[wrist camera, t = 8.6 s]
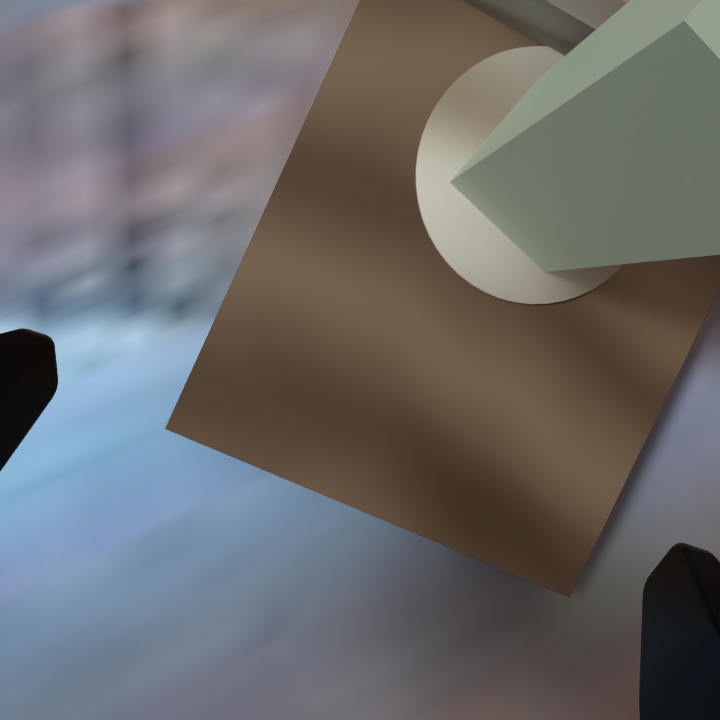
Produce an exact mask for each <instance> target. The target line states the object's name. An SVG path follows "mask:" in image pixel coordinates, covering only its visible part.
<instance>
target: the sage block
mask: <svg viewBox="0 0 720 720" xmlns="http://www.w3.org/2000/svg"><path fill="white" fill-rule="evenodd" d="M450 183H451V184H452V185H453V186H454V187H455V188H456V189H457V190H458V191H459V192H460V193H461V194H462V195H463V196H464V197H466V198H467V199H468V200H469V201H470V202H471V203H472V204H473V205H474V206H475V207H476V208H477V209H478V210H479V211H480V212H481V213H482V214H484V215H485V216H486V217H487V218H488V219H489V220H490V221H491V222H492V223H493V224H494V225H495V226H496V227H497V228H498V229H499V230H500V231H502V232H503V233H504V234H505V235H506V236H507V237H508V238H509V239H510V240H511V241H512V242H513V243H514V244H515V245H516V246H517V247H518V248H520V249H521V250H522V251H523V252H524V253H525V254H526V255H527V256H528V257H529V258H530V259H531V260H532V261H533V262H534V263H535V264H537V265H538V266H539V267H540V268H541V269H542V270H543V271H544V272H549V271H559V270H569V269H579V268H589V267H600V266H610V265H620V264H630V263H640V262H650V261H661V260H671V259H681V258H691V257H701V256H711V255H720V0H630V1H629V2H628V3H627V4H625V5H624V6H623V7H622V8H621V9H620V10H618V11H617V12H616V13H615V14H614V15H612V16H611V17H610V18H609V19H608V20H607V21H605V22H604V23H603V24H602V25H601V26H600V27H598V28H597V29H596V30H595V31H594V32H593V33H591V34H590V35H589V36H588V37H587V38H586V39H584V40H583V41H582V42H581V43H580V44H579V45H577V46H576V47H575V48H574V49H573V50H571V51H570V52H569V53H568V54H567V55H566V56H564V57H563V58H562V59H561V60H560V61H559V62H557V63H556V64H555V65H554V66H553V67H552V68H550V69H549V70H548V71H547V72H546V73H545V74H543V75H542V76H541V77H540V78H539V79H538V80H536V82H535V83H534V84H533V85H532V86H531V87H530V89H529V90H528V91H527V92H526V93H525V94H524V96H523V97H522V98H521V99H520V100H519V102H518V103H517V104H516V105H515V106H514V107H513V109H512V110H511V111H510V112H509V113H508V114H507V116H506V117H505V118H504V119H503V120H502V121H501V123H500V124H499V125H498V126H497V127H496V128H495V130H494V131H493V132H492V133H491V134H490V135H489V137H488V138H487V139H486V140H485V141H484V142H483V144H482V145H481V146H480V147H479V148H478V149H477V151H476V152H475V153H474V154H473V155H472V156H471V158H470V159H469V160H468V161H467V162H466V163H465V165H464V166H463V167H462V168H461V169H460V170H459V172H458V173H457V174H456V175H455V176H454V177H453V179H452V180H451V181H450Z"/></svg>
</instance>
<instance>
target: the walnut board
mask: <svg viewBox="0 0 720 720" xmlns="http://www.w3.org/2000/svg"><path fill="white" fill-rule="evenodd" d="M625 4H626V3H624V2H623V1H621V0H360V2H359V4H358V6H357V8H356V10H355V13H354V15H353V17H352V19H351V21H350V24H349V26H348V28H347V30H346V32H345V35H344V37H343V39H342V41H341V43H340V46H339V48H338V50H337V52H336V54H335V57H334V59H333V61H332V63H331V65H330V68H329V70H328V72H327V74H326V76H325V79H324V81H323V83H322V85H321V87H320V90H319V92H318V94H317V96H316V98H315V101H314V103H313V105H312V107H311V109H310V112H309V114H308V116H307V118H306V120H305V122H304V125H303V127H302V129H301V131H300V133H299V136H298V138H297V140H296V142H295V144H294V147H293V149H292V151H291V153H290V155H289V158H288V160H287V162H286V164H285V166H284V169H283V171H282V173H281V175H280V177H279V180H278V182H277V184H276V186H275V188H274V191H273V193H272V195H271V197H270V199H269V202H268V204H267V206H266V208H265V210H264V213H263V215H262V217H261V219H260V221H259V224H258V226H257V228H256V230H255V232H254V235H253V237H252V239H251V241H250V243H249V246H248V248H247V250H246V252H245V254H244V257H243V259H242V261H241V263H240V265H239V268H238V270H237V272H236V274H235V276H234V279H233V281H232V283H231V285H230V287H229V290H228V292H227V294H226V296H225V298H224V301H223V303H222V305H221V307H220V309H219V312H218V314H217V316H216V318H215V320H214V323H213V325H212V327H211V329H210V331H209V333H208V336H207V338H206V340H205V342H204V344H203V347H202V349H201V351H200V353H199V355H198V358H197V360H196V362H195V364H194V366H193V369H192V371H191V373H190V375H189V377H188V380H187V382H186V384H185V386H184V388H183V391H182V393H181V395H180V397H179V399H178V402H177V404H176V406H175V408H174V410H173V413H172V415H171V417H170V419H169V421H168V424H167V426H166V428H165V429H167V430H169V431H172V432H174V433H176V434H179V435H181V436H184V437H186V438H188V439H191V440H193V441H196V442H198V443H200V444H203V445H205V446H208V447H210V448H212V449H215V450H217V451H219V452H222V453H224V454H227V455H229V456H231V457H234V458H236V459H239V460H241V461H243V462H246V463H248V464H251V465H253V466H255V467H258V468H260V469H263V470H265V471H267V472H270V473H272V474H274V475H277V476H279V477H282V478H284V479H286V480H289V481H291V482H294V483H296V484H298V485H301V486H303V487H306V488H308V489H310V490H313V491H315V492H318V493H320V494H322V495H325V496H327V497H329V498H332V499H334V500H337V501H339V502H341V503H344V504H346V505H349V506H351V507H353V508H356V509H358V510H361V511H363V512H365V513H368V514H370V515H373V516H375V517H377V518H380V519H382V520H385V521H387V522H389V523H392V524H394V525H396V526H399V527H401V528H404V529H406V530H408V531H411V532H413V533H416V534H418V535H420V536H423V537H425V538H428V539H430V540H432V541H435V542H437V543H440V544H442V545H444V546H447V547H449V548H451V549H454V550H456V551H459V552H461V553H463V554H466V555H468V556H471V557H473V558H475V559H478V560H480V561H483V562H485V563H487V564H490V565H492V566H495V567H497V568H499V569H502V570H504V571H506V572H509V573H511V574H514V575H516V576H518V577H521V578H523V579H526V580H528V581H530V582H533V583H535V584H538V585H540V586H542V587H545V588H547V589H550V590H552V591H554V592H557V593H559V594H561V595H564V596H566V597H570V595H571V593H572V591H573V589H574V587H575V584H576V582H577V580H578V578H579V576H580V574H581V572H582V570H583V568H584V566H585V564H586V562H587V560H588V558H589V556H590V554H591V552H592V550H593V548H594V545H595V543H596V541H597V539H598V537H599V535H600V533H601V531H602V529H603V527H604V525H605V523H606V521H607V519H608V517H609V515H610V513H611V511H612V508H613V506H614V504H615V502H616V500H617V498H618V496H619V494H620V492H621V490H622V488H623V486H624V484H625V482H626V480H627V478H628V476H629V474H630V471H631V469H632V467H633V465H634V463H635V461H636V459H637V457H638V455H639V453H640V451H641V449H642V447H643V445H644V443H645V441H646V439H647V437H648V435H649V432H650V430H651V428H652V426H653V424H654V422H655V420H656V418H657V416H658V414H659V412H660V410H661V408H662V406H663V404H664V402H665V400H666V398H667V395H668V393H669V391H670V389H671V387H672V385H673V383H674V381H675V379H676V377H677V375H678V373H679V371H680V369H681V367H682V365H683V363H684V361H685V359H686V356H687V354H688V352H689V350H690V348H691V346H692V344H693V342H694V340H695V338H696V336H697V334H698V332H699V330H700V328H701V326H702V324H703V322H704V319H705V317H706V315H707V313H708V311H709V309H710V307H711V305H712V303H713V301H714V299H715V297H716V295H717V293H718V291H719V289H720V255H711V256H701V257H691V258H681V259H671V260H661V261H650V262H640V263H630V264H620V265H610V266H600V267H589V268H579V269H569V270H559V271H549V272H544V271H543V270H542V269H541V268H540V267H539V266H538V265H537V264H535V263H534V262H533V261H532V260H531V259H530V258H529V257H528V256H527V255H526V254H525V253H524V252H523V251H522V250H521V249H520V248H518V247H517V246H516V245H515V244H514V243H513V242H512V241H511V240H510V239H509V238H508V237H507V236H506V235H505V234H504V233H503V232H502V231H500V230H499V229H498V228H497V227H496V226H495V225H494V224H493V223H492V222H491V221H490V220H489V219H488V218H487V217H486V216H485V215H484V214H482V213H481V212H480V211H479V210H478V209H477V208H476V207H475V206H474V205H473V204H472V203H471V202H470V201H469V200H468V199H467V198H466V197H464V196H463V195H462V194H461V193H460V192H459V191H458V190H457V189H456V188H455V187H454V186H453V185H452V184H451V183H450V181H451V180H452V179H453V177H454V176H455V175H456V174H457V173H458V172H459V170H460V169H461V168H462V167H463V166H464V165H465V163H466V162H467V161H468V160H469V159H470V158H471V156H472V155H473V154H474V153H475V152H476V151H477V149H478V148H479V147H480V146H481V145H482V144H483V142H484V141H485V140H486V139H487V138H488V137H489V135H490V134H491V133H492V132H493V131H494V130H495V128H496V127H497V126H498V125H499V124H500V123H501V121H502V120H503V119H504V118H505V117H506V116H507V114H508V113H509V112H510V111H511V110H512V109H513V107H514V106H515V105H516V104H517V103H518V102H519V100H520V99H521V98H522V97H523V96H524V94H525V93H526V92H527V91H528V90H529V89H530V87H531V86H532V85H533V84H534V83H535V82H536V80H538V79H539V78H540V77H541V76H542V75H543V74H545V73H546V72H547V71H548V70H549V69H550V68H552V67H553V66H554V65H555V64H556V63H557V62H559V61H560V60H561V59H562V58H563V57H564V56H566V55H567V54H568V53H569V52H570V51H571V50H573V49H574V48H575V47H576V46H577V45H579V44H580V43H581V42H582V41H583V40H584V39H586V38H587V37H588V36H589V35H590V34H591V33H593V32H594V31H595V30H596V29H597V28H598V27H600V26H601V25H602V24H603V23H604V22H605V21H607V20H608V19H609V18H610V17H611V16H612V15H614V14H615V13H616V12H617V11H618V10H620V9H621V8H622V7H623V6H624V5H625Z"/></svg>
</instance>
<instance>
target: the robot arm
mask: <svg viewBox="0 0 720 720" xmlns="http://www.w3.org/2000/svg"><path fill="white" fill-rule="evenodd" d="M57 385H58V374H57V364H56V354H55V345H54V342H53V340H52V339H51V338H50V337H49V336H47V335H45V334H42V333H39V332H36V331H32V330H29V329H17V330H13V331H9V332H5V333H2V334H0V471H1V470H2V468H3V467H4V466H5V464H6V463H7V461H8V460H9V459H10V457H11V456H12V454H13V453H14V452H15V450H16V449H17V447H18V446H19V444H20V443H21V442H22V440H23V439H24V437H25V436H26V435H27V433H28V432H29V430H30V429H31V428H32V426H33V425H34V423H35V422H36V420H37V419H38V418H39V416H40V415H41V413H42V412H43V411H44V409H45V408H46V406H47V405H48V404H49V402H50V401H51V399H52V398H53V396H54V394H55V392H56V389H57ZM639 708H640V720H720V562H719V561H718V560H717V558H716V557H715V556H714V555H713V554H712V553H710V552H708V551H706V550H703V549H700V548H697V547H694V546H691V545H688V544H685V543H678V544H676V545H674V546H673V547H672V548H671V549H670V550H669V551H668V553H667V554H666V555H665V557H664V558H663V559H662V560H661V562H660V563H659V564H658V565H657V567H656V568H655V569H654V571H653V572H652V573H651V574H650V576H649V577H648V579H647V581H646V583H645V586H644V591H643V604H642V631H641V658H640V684H639Z"/></svg>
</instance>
